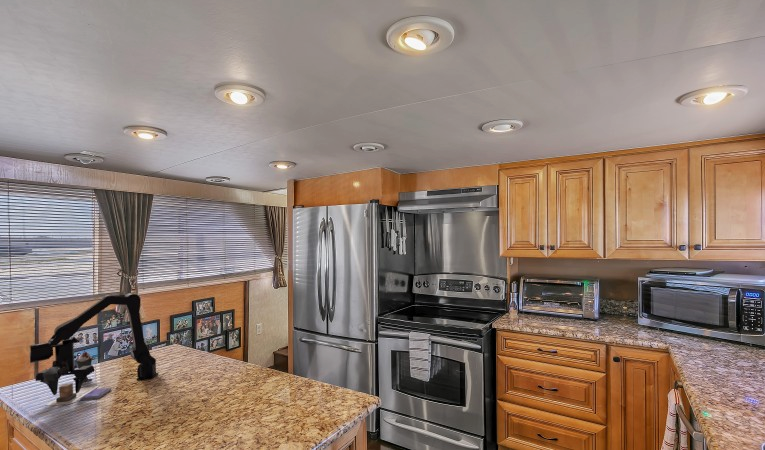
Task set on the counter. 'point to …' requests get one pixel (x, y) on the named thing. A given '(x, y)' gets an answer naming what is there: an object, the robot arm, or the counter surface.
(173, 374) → the counter surface
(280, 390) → the counter surface
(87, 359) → the sundae
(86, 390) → the form sheet
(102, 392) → the ink pad
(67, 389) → the stamp
